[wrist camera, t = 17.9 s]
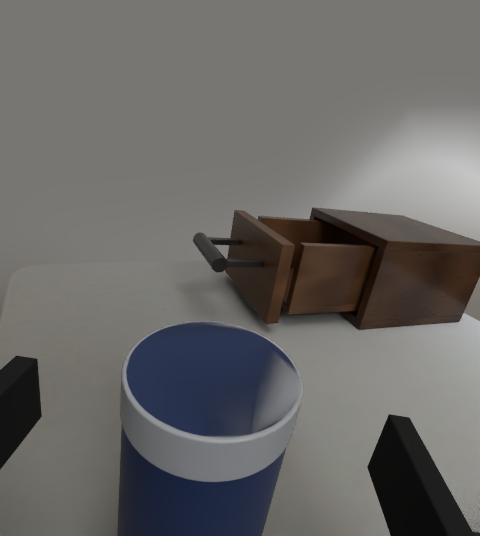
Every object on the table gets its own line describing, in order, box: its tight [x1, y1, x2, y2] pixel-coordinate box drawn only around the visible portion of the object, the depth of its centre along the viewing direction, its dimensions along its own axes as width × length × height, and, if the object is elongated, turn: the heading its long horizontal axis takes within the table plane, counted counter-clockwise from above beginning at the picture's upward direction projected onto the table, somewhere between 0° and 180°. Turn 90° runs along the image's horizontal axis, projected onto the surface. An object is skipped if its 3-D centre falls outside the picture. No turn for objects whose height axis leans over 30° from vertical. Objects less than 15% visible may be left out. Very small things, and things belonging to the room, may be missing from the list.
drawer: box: [193, 210, 378, 324], centre depth 35 cm, size 18×12×7 cm, turn 111°
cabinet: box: [310, 208, 480, 329], centre depth 40 cm, size 15×13×9 cm
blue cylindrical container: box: [118, 321, 303, 536], centre depth 11 cm, size 5×5×10 cm
